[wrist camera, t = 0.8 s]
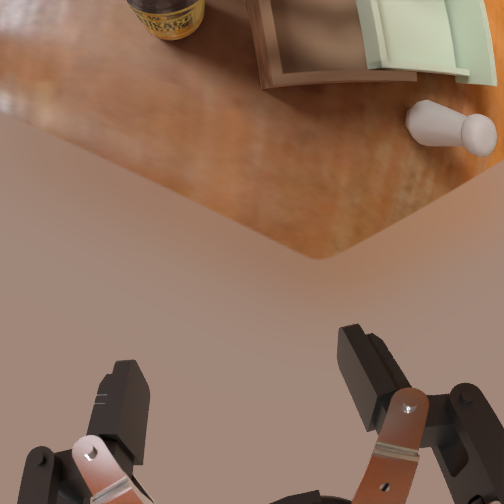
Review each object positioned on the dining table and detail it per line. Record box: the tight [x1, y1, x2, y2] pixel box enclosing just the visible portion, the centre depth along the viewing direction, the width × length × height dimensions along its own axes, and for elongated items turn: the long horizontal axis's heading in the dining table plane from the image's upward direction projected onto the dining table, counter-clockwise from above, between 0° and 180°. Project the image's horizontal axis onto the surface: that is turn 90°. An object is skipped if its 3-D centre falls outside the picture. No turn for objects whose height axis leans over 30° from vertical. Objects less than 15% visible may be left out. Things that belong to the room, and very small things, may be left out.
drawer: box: [356, 0, 497, 86], centre depth 24 cm, size 17×15×7 cm
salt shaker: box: [405, 100, 497, 157], centre depth 28 cm, size 6×6×13 cm
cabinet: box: [246, 0, 417, 89], centre depth 24 cm, size 18×15×7 cm
